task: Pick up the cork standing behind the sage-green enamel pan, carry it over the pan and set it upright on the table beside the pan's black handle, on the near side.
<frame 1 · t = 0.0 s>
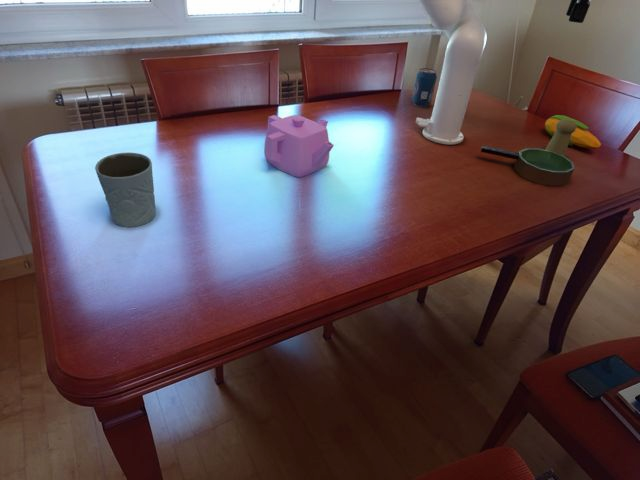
hand: (573, 18, 108), 37 cm above the table, tool pointing down, fingers open, 9 cm apart
cork: (553, 156, 131), on the table
gray embossed cup: (135, 216, 91), on the table
corn: (568, 143, 140), on the table
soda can: (420, 104, 159), on the table
teakettle: (298, 163, 115), on the table
pan: (540, 173, 121), on the table
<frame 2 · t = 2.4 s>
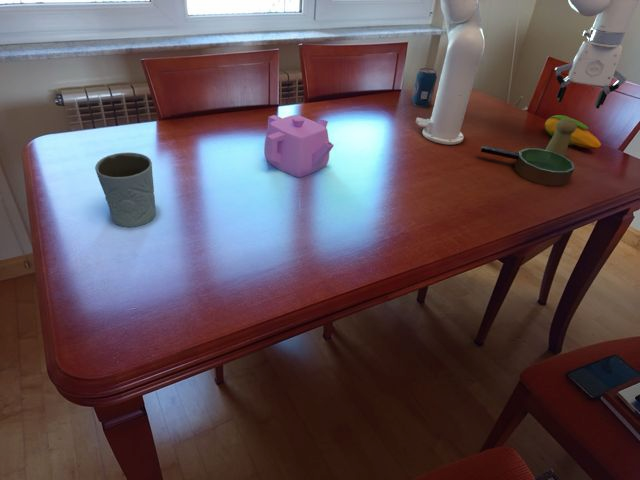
hand: (577, 103, 121), 16 cm above the table, tool pointing down, fingers open, 9 cm apart
nothing on the table moved.
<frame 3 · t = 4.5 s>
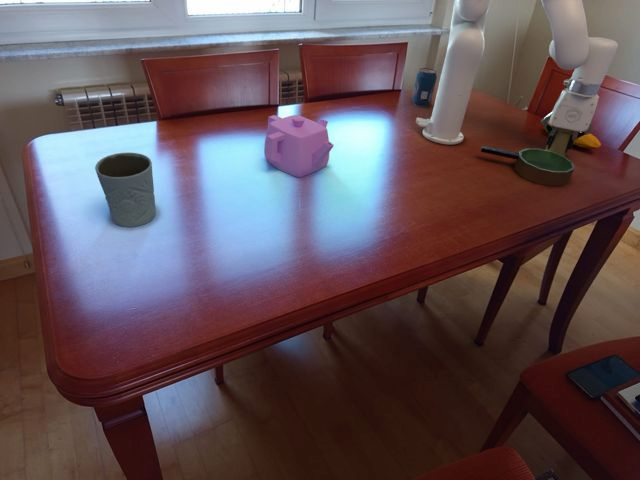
hand: (556, 148, 130), 2 cm above the table, tool pointing down, fingers closed on cork, 4 cm apart
cork: (553, 156, 131), on the table, touching gripper
everything else where it was.
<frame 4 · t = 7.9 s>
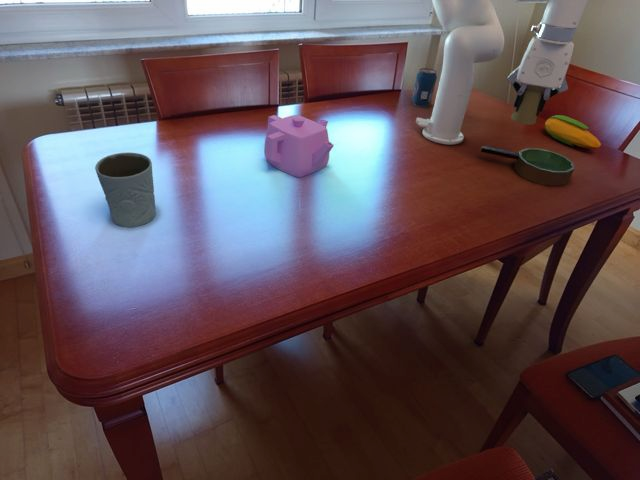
hand: (526, 111, 110), 17 cm above the table, tool pointing down, fingers closed on cork, 4 cm apart
cork: (522, 120, 111), point 15 cm above the table, touching gripper
everything else where it was.
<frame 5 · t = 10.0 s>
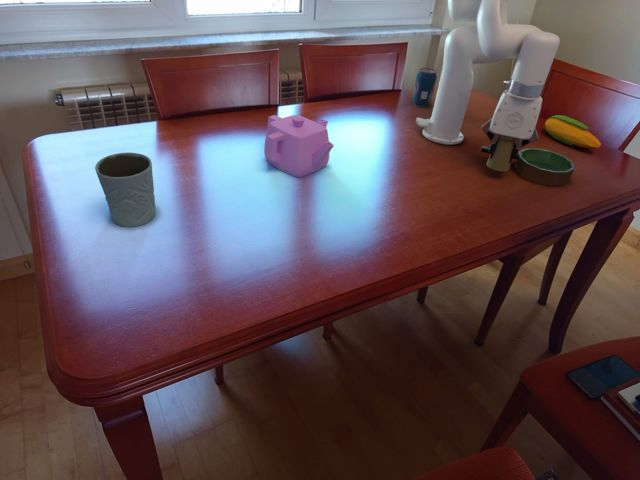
hand: (500, 158, 115), 5 cm above the table, tool pointing down, fingers closed on cork, 4 cm apart
cork: (497, 166, 116), point 3 cm above the table, touching gripper
everything else where it was.
when the fingers open (2 cm above the table, at t = 11.2 s): cork stays where it is, on the table.
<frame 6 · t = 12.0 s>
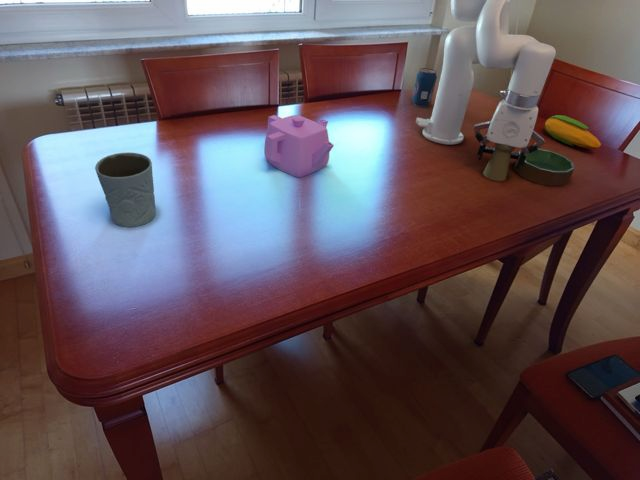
hand: (498, 162, 116), 4 cm above the table, tool pointing down, fingers open, 9 cm apart
cork: (494, 176, 118), on the table
everything else where it was.
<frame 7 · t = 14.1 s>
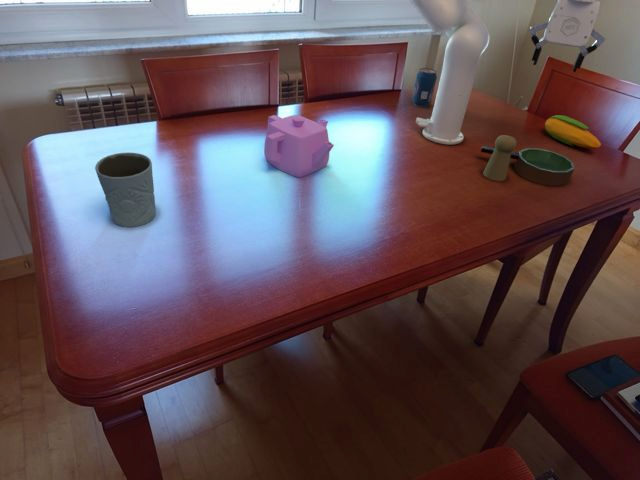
hand: (553, 67, 114), 25 cm above the table, tool pointing down, fingers open, 9 cm apart
nothing on the table moved.
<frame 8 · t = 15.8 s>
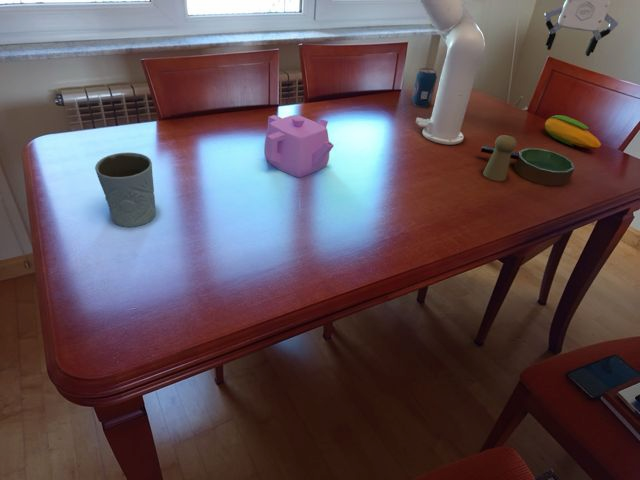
hand: (567, 52, 117), 28 cm above the table, tool pointing down, fingers open, 9 cm apart
nothing on the table moved.
at the end: cork inside the target area (0.1 cm from its centre), on the table; cork tilted 0°; the gripper is holding nothing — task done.
